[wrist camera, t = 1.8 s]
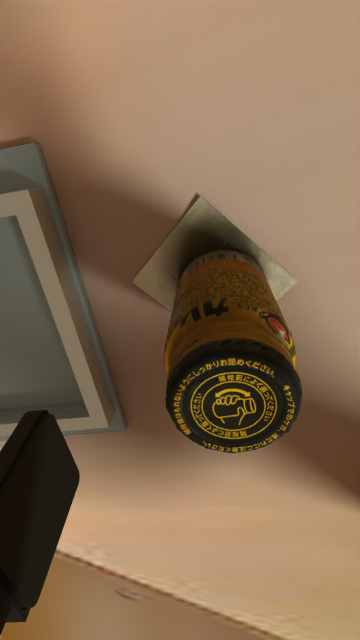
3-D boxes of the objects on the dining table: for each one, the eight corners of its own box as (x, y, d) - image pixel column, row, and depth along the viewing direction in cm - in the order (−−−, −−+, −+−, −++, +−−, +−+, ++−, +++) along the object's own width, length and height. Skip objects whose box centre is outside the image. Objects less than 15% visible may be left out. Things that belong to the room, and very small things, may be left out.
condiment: (223, 350, 26) (236, 494, 15) (132, 281, 24) (71, 390, 13) (297, 280, 23) (377, 395, 12) (200, 195, 21) (195, 243, 10)
